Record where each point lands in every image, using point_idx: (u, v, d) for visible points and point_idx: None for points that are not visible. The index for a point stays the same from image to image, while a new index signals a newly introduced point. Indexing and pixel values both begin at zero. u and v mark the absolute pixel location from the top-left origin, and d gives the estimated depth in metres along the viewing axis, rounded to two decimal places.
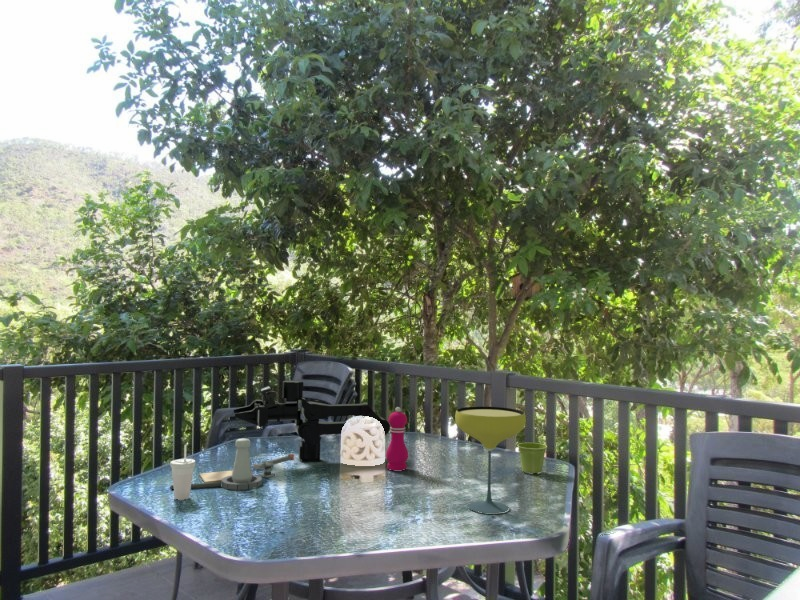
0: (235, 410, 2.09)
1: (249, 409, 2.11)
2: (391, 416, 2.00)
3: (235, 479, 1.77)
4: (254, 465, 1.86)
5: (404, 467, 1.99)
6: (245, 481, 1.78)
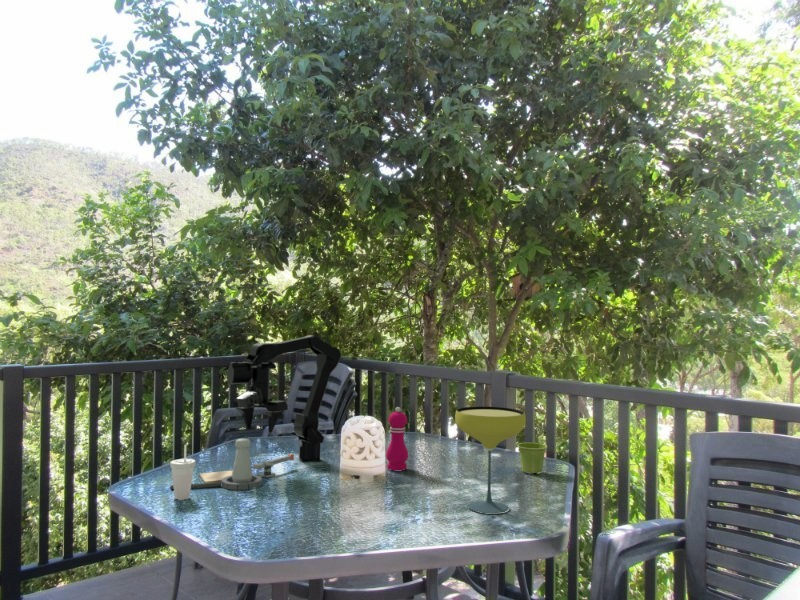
0: (248, 427, 2.03)
1: (247, 413, 2.04)
2: (391, 416, 2.00)
3: (235, 479, 1.77)
4: (254, 465, 1.86)
5: (404, 467, 1.99)
6: (245, 481, 1.78)
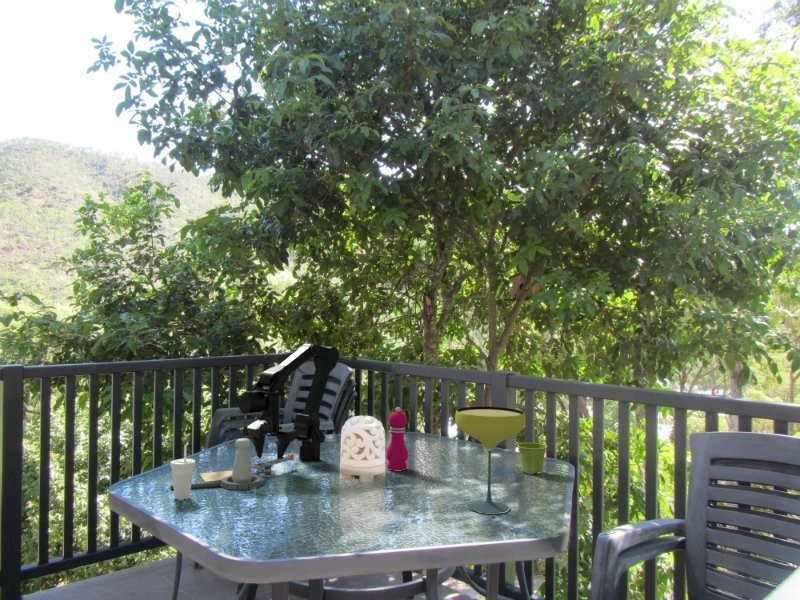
0: (259, 456, 2.01)
1: (258, 441, 2.01)
2: (391, 416, 2.00)
3: (235, 479, 1.77)
4: (254, 465, 1.87)
5: (404, 467, 1.99)
6: (245, 481, 1.78)
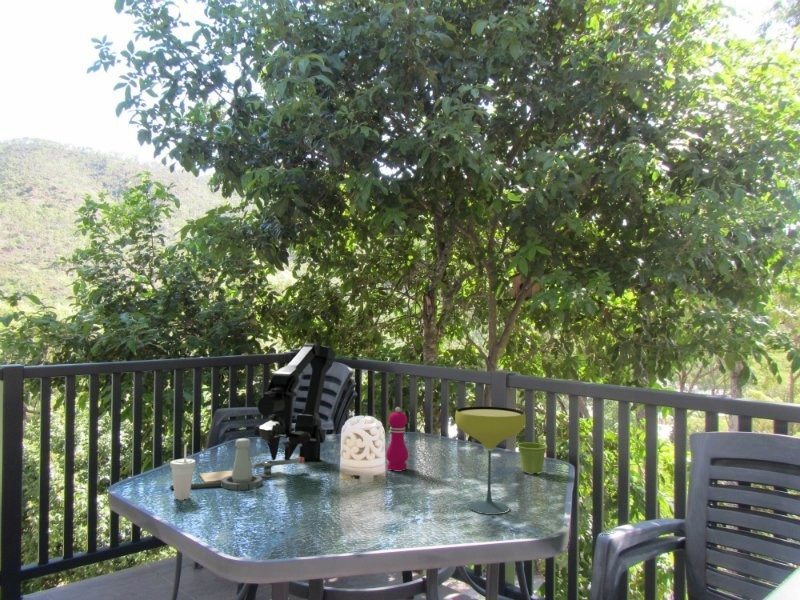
0: (274, 458, 1.97)
1: (273, 443, 1.98)
2: (391, 416, 2.00)
3: (235, 479, 1.77)
4: (251, 463, 1.88)
5: (404, 467, 1.99)
6: (245, 481, 1.78)
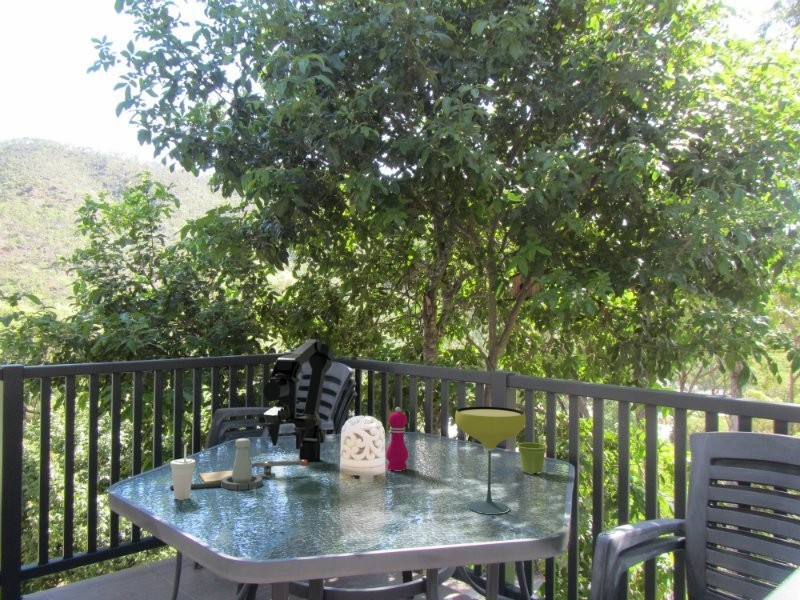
0: (274, 443, 1.97)
1: (273, 429, 1.98)
2: (391, 416, 2.00)
3: (235, 479, 1.77)
4: None
5: (404, 467, 1.99)
6: (245, 481, 1.78)
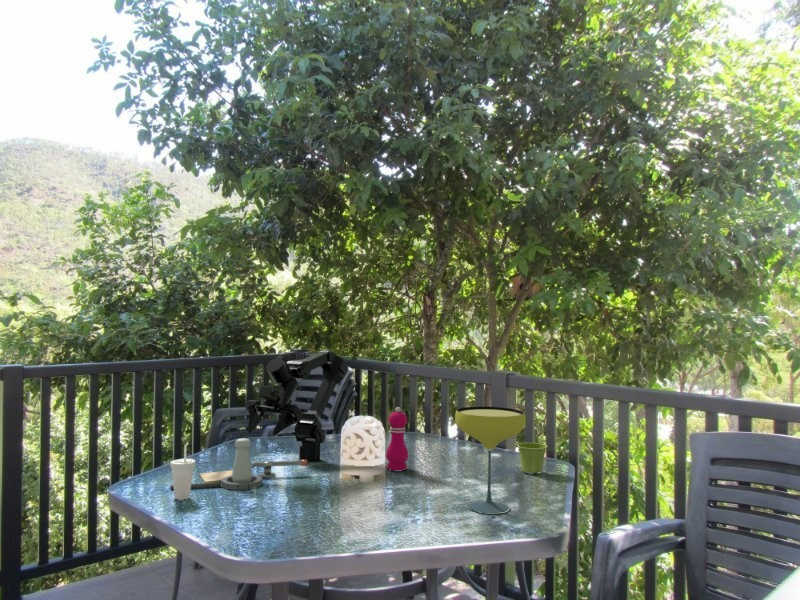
0: (249, 429, 1.90)
1: (255, 417, 1.93)
2: (391, 416, 2.00)
3: (235, 479, 1.77)
4: None
5: (404, 467, 1.99)
6: (245, 481, 1.78)
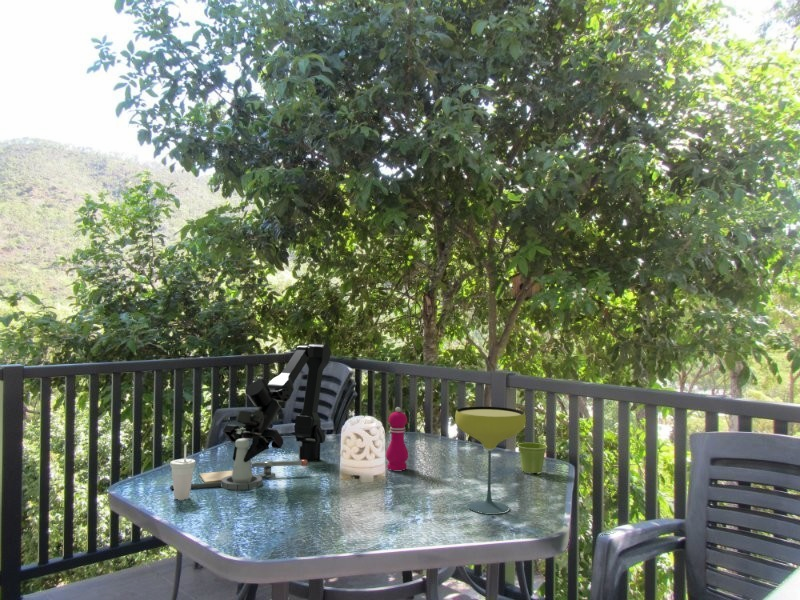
0: None
1: None
2: (391, 416, 2.00)
3: (235, 479, 1.77)
4: None
5: (404, 467, 1.99)
6: (245, 481, 1.78)
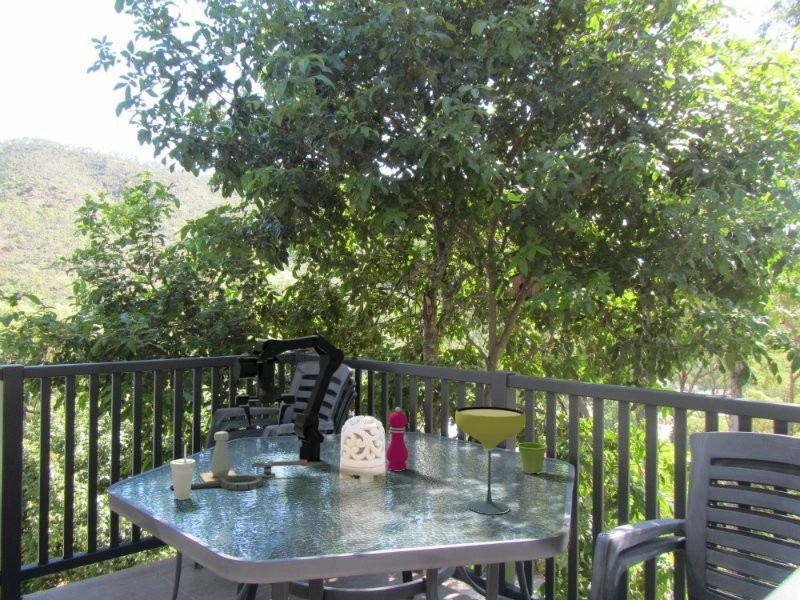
0: (250, 424, 2.00)
1: (249, 410, 2.00)
2: (391, 416, 2.00)
3: (212, 470, 1.85)
4: None
5: (404, 467, 1.99)
6: (221, 472, 1.85)
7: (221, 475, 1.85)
